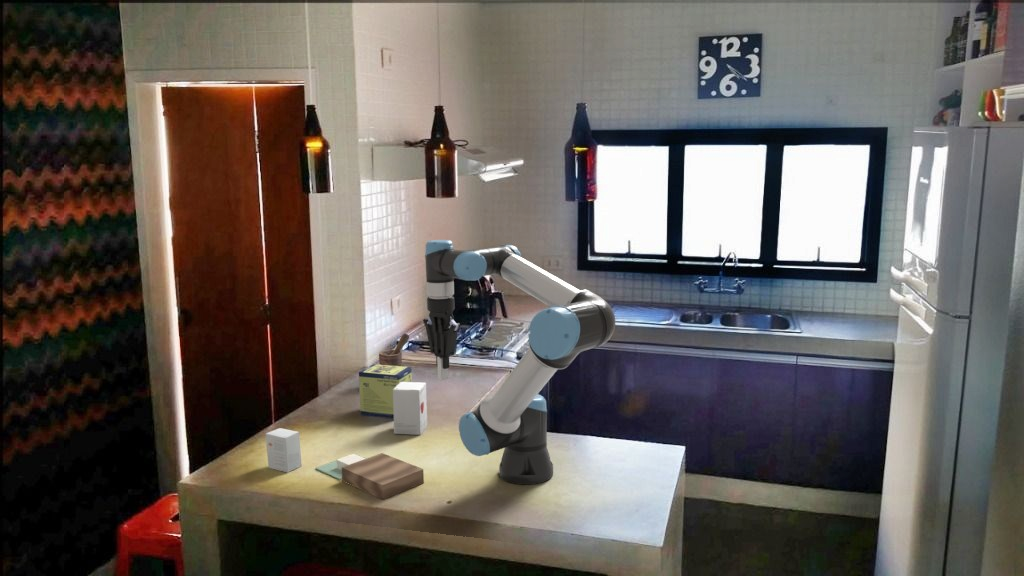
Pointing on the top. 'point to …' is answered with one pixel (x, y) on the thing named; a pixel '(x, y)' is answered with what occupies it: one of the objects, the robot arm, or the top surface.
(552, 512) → the top surface
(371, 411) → the protein box
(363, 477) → the plate
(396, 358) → the mortar and pestle
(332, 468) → the mat
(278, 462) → the small box
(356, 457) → the tile
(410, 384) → the supplement box
